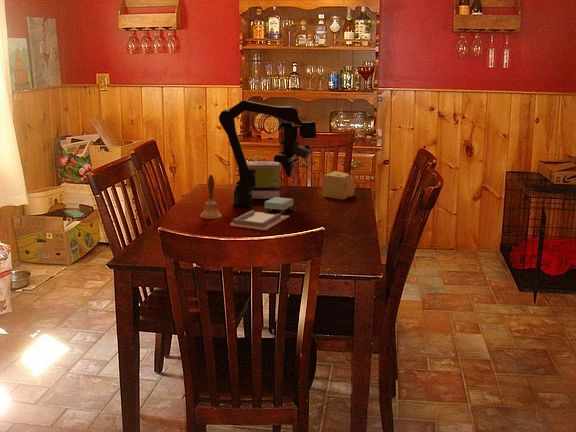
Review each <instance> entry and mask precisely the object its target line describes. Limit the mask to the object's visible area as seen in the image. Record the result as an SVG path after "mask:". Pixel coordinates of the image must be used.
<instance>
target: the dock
mask: <svg viewBox="0 0 576 432" xmlns="http://www.w3.org/2000/svg"><path fill="white" fill-rule="evenodd" d="M289 217H290V215H285V214H280V212H279V213H278V212H277V213H270V212H269V213H267V212H262V211H255V210H254V209H252V210H250V211H247V212H245V213H243V214H241V215H240V216H237V217H236V218H233V219H232V222H230V223H229V224H230V226H231V227H237V228H246V229H252V228H253V230H262V231H266V230H267V231H268V230H269V229H270V228H272V227H274V226H275V225H278V224H279V223H281V222H283V221H285V220H286V219H287V218H289ZM282 220H283V221H282Z"/></svg>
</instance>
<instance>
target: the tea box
mask: <svg viewBox="0 0 576 432" xmlns="http://www.w3.org/2000/svg"><path fill="white" fill-rule="evenodd" d="M246 162H247V164H248V166H249V168H250V167H253V172H254V174H255V175H256V179H255V183H254V185H253V187H251V188H250V189H249V190H250V191H251V194H252V200H253V199H254V200H255V199H259V200H260V199H262V200H263V199H266V200H267V199H268V200H270V199H272V198H274V197H280V198H281V185H280V184H281V174H280V172H281V170H280V167H281V165H280V162H274V161H246Z"/></svg>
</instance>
